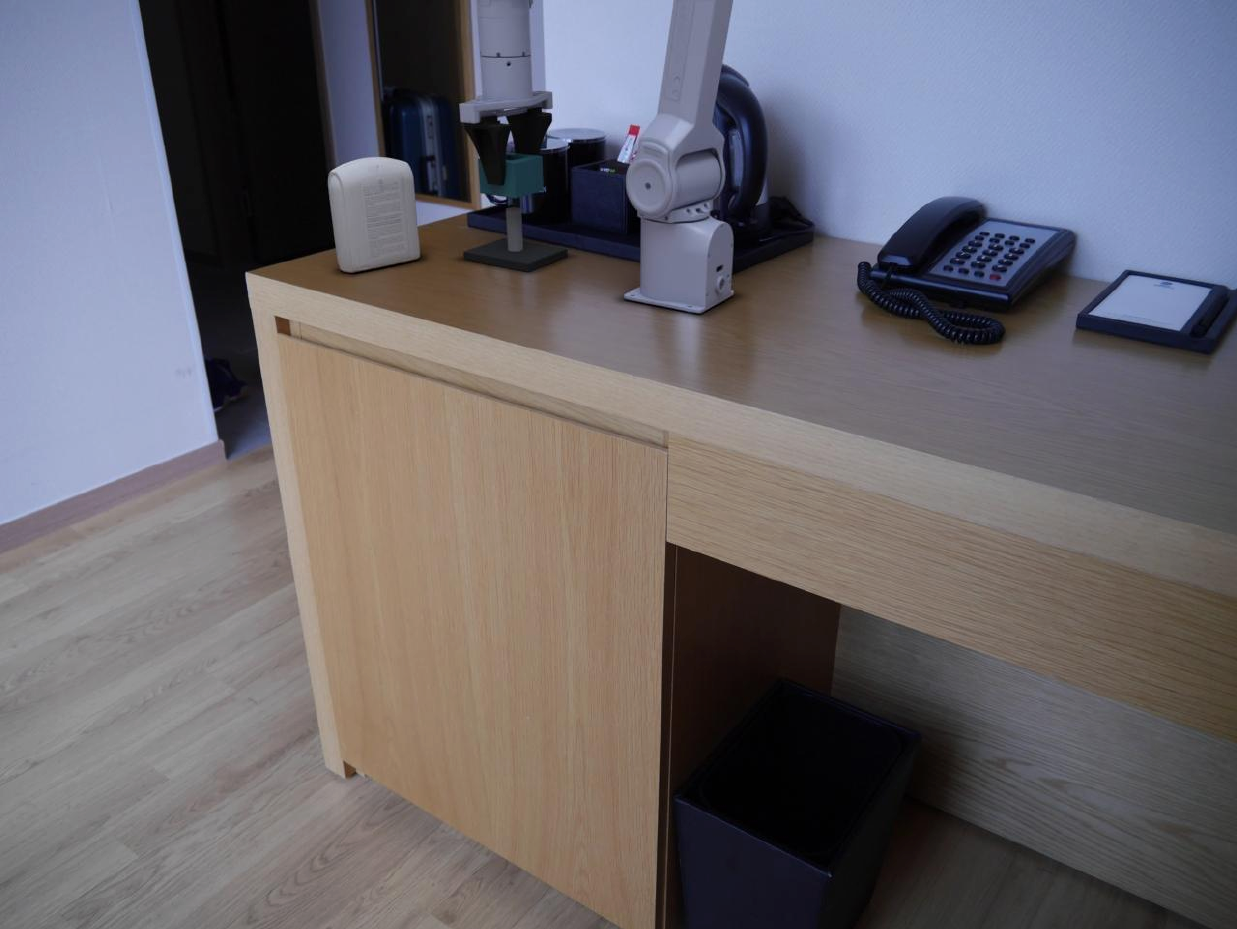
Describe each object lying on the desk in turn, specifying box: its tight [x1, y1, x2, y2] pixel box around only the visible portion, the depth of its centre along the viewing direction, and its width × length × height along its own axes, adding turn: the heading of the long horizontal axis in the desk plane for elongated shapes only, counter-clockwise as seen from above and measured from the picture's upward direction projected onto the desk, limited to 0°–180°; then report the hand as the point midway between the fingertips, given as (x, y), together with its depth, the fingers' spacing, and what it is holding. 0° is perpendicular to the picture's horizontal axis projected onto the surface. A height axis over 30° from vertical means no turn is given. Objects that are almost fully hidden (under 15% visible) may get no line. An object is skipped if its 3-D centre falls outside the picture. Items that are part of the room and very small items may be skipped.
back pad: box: [462, 206, 569, 273], centre depth 117 cm, size 10×8×6 cm
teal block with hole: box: [477, 151, 545, 199], centre depth 113 cm, size 5×5×4 cm
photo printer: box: [327, 156, 421, 274], centre depth 113 cm, size 10×4×12 cm, turn 134°
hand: (512, 179), depth 114 cm, fingers closed on teal block with hole, 5 cm apart
